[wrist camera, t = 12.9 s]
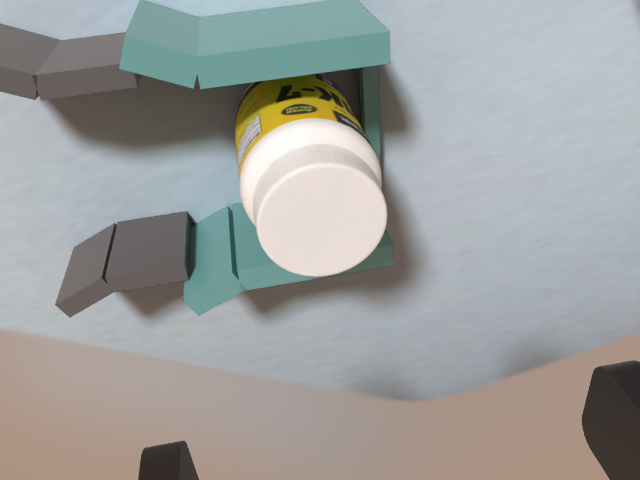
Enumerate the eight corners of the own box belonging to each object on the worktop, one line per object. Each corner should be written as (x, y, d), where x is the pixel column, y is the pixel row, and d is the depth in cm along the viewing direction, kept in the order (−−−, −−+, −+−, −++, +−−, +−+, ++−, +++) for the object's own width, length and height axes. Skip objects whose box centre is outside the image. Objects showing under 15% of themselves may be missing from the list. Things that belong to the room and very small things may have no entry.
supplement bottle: (366, 88, 24) (430, 182, 17) (320, 184, 26) (360, 303, 19) (256, 44, 23) (278, 129, 16) (217, 151, 25) (221, 267, 18)
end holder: (370, -29, 22) (408, -1, 18) (377, 216, 28) (408, 280, 24) (128, 0, 21) (110, 37, 17) (190, 246, 27) (188, 317, 23)
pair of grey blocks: (136, 5, 21) (123, 34, 18) (194, 242, 27) (193, 297, 24) (-13, 23, 21) (-55, 56, 17) (79, 260, 26) (61, 318, 23)
